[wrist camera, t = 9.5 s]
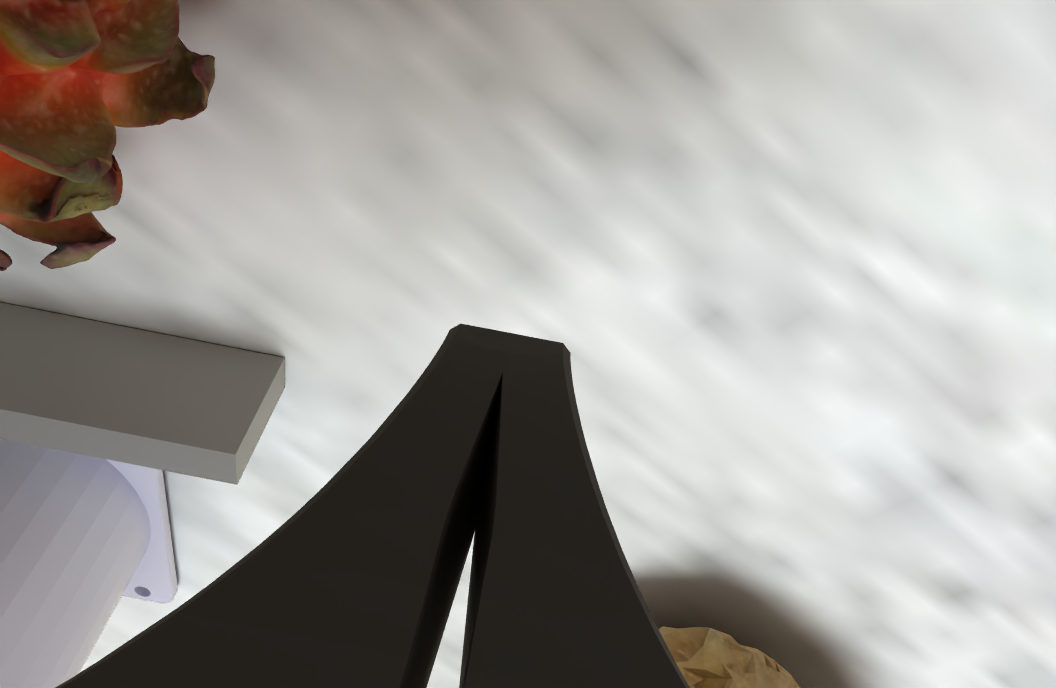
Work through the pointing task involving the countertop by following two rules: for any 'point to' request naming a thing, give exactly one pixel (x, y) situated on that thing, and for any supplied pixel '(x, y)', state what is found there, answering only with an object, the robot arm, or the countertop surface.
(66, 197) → the dragon fruit
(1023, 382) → the countertop surface
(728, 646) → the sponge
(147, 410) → the box
